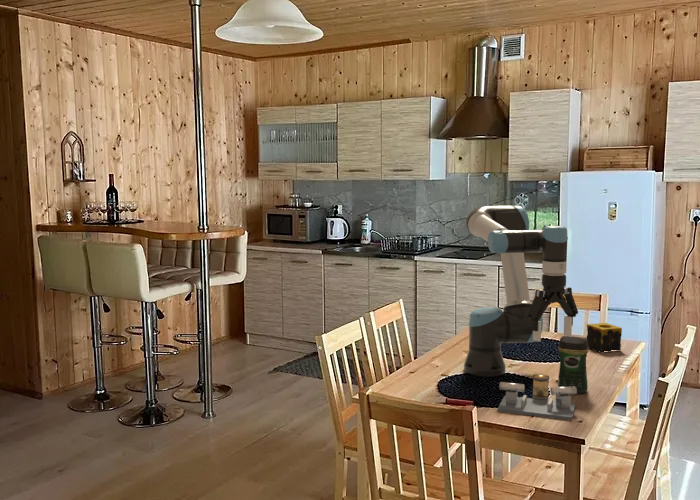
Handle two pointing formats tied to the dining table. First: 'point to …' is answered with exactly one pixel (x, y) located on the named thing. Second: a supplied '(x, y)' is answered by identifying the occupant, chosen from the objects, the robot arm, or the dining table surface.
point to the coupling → (540, 386)
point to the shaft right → (563, 396)
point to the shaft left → (511, 391)
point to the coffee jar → (573, 363)
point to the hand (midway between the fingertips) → (552, 338)
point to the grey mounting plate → (537, 408)
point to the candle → (604, 337)
